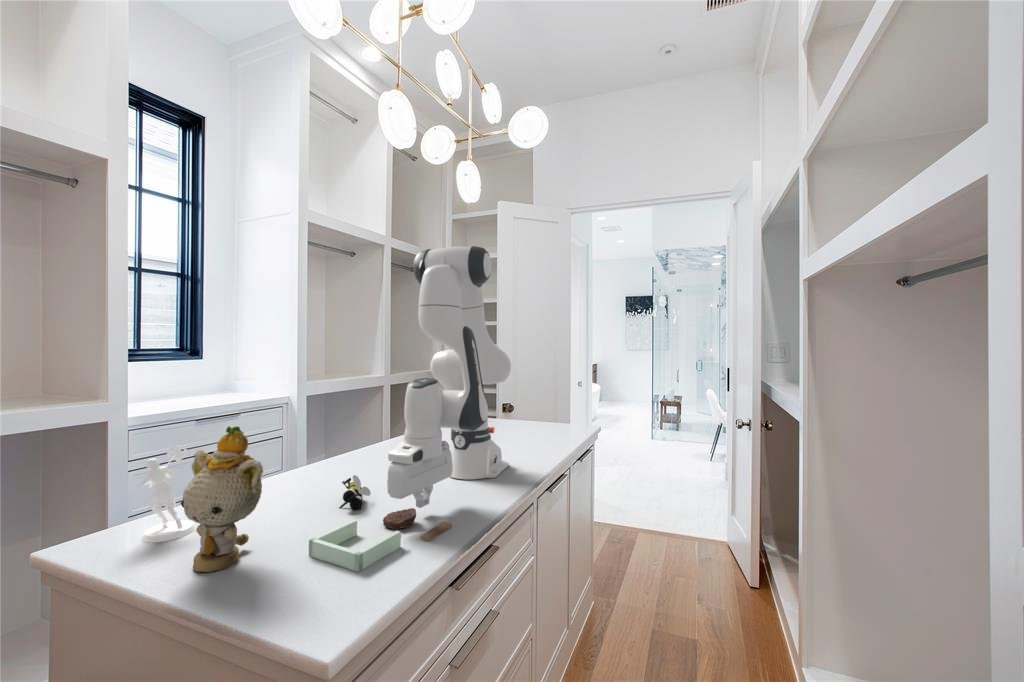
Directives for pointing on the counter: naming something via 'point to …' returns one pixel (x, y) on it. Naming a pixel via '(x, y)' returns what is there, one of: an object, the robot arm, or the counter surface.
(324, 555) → the green u-shaped bracket
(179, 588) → the counter surface
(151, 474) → the figurine
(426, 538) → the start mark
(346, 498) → the toy
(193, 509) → the figurine
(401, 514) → the stone
